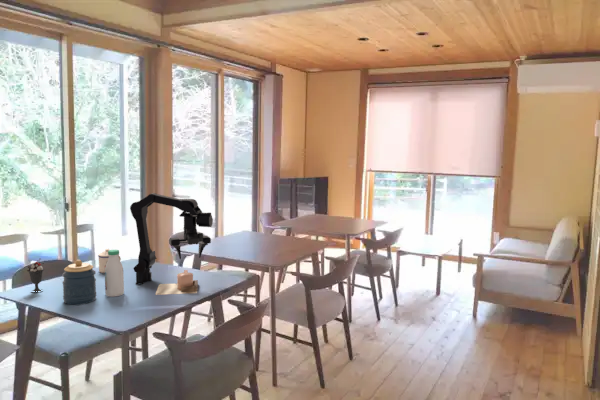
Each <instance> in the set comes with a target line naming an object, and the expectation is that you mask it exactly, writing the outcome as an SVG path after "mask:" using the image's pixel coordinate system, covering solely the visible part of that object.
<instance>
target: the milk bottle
mask: <svg viewBox="0 0 600 400" xmlns="http://www.w3.org/2000/svg"><path fill="white" fill-rule="evenodd" d="M108 256H109V259H108V262H107V264H106V267H105V273H104V283H105V285H104V287H105V289H104V290H105V296H106V297H109V298H113V297H120V296H123V294H124V293H125V281H124V267H123V263H122V261H121V260H120V259H119V256H120V250H119V249H109V251H108Z"/></svg>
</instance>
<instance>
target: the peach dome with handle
mask: <svg viewBox="0 0 600 400" xmlns="http://www.w3.org/2000/svg"><path fill="white" fill-rule="evenodd" d="M176 278H177V280H176V281H177V283H176V284H177V289H178V290H181V287H190V286H193V280H194V274H193V273H192V272H189V270H188V269H184V270H183V272H180V273H177V275H176Z"/></svg>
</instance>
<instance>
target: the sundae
mask: <svg viewBox="0 0 600 400" xmlns="http://www.w3.org/2000/svg"><path fill="white" fill-rule="evenodd" d="M40 261H41V259H38V260H37V261H36V262H34V263H33V264H31V266H30V265H27V268H28V269H27V270H26V271H27V272H28V274H29V277H30V278H29V279H30V282H31V284H34V289H33V290H32V291H35V292H36V291H37V292H38V291H41V290H42V289H41V290H40V288H39V284H40V283H41V282H42V279H43V272H44V271H45V268H44V267H43V266H42V263H40Z"/></svg>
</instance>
